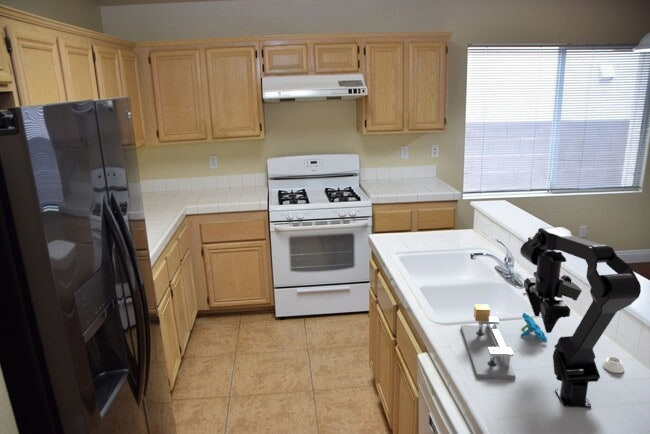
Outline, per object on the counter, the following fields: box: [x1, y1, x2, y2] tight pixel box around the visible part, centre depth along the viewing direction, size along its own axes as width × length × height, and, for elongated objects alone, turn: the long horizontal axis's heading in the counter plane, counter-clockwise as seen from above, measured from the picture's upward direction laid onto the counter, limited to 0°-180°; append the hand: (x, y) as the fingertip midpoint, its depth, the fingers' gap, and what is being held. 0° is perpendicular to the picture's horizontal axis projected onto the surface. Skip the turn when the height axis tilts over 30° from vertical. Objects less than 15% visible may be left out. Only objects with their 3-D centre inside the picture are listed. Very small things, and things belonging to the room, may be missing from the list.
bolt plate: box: [460, 324, 516, 380], centre depth 137 cm, size 26×10×1 cm, turn 174°
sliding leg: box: [473, 304, 500, 333], centre depth 143 cm, size 3×7×9 cm, turn 84°
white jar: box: [602, 355, 625, 374], centre depth 127 cm, size 5×3×5 cm
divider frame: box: [485, 324, 514, 367], centre depth 138 cm, size 22×6×4 cm, turn 174°
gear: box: [520, 312, 548, 342], centre depth 144 cm, size 11×6×10 cm
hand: (542, 324), depth 129 cm, fingers open, 9 cm apart
